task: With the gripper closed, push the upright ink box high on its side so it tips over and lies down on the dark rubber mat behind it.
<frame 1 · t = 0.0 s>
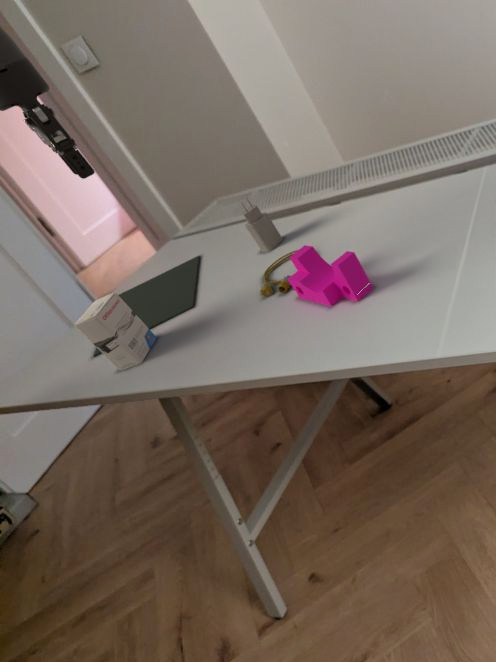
hand: (85, 174, 85), 31 cm above the table, tool pointing down, fingers open, 8 cm apart
toy block: (336, 295, 96), on the table
mat: (153, 302, 123), on the table
braided water hose: (286, 275, 109), on the table
power adapter: (273, 247, 125), on the table
ink box: (140, 355, 104), on the table
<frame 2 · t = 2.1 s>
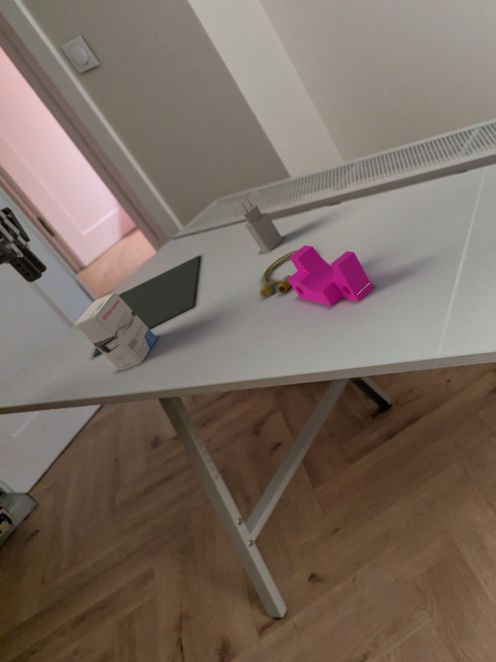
hand: (38, 275, 85), 22 cm above the table, tool pointing down, fingers closed
nothing on the table moved.
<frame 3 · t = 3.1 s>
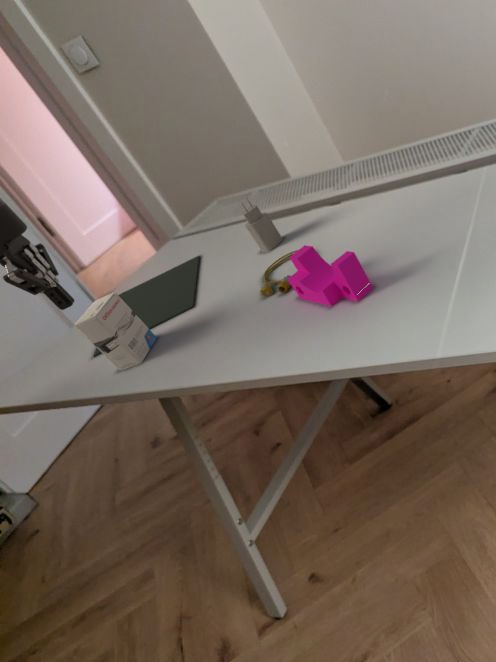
hand: (68, 305, 89), 16 cm above the table, tool pointing down, fingers closed
nothing on the table moved.
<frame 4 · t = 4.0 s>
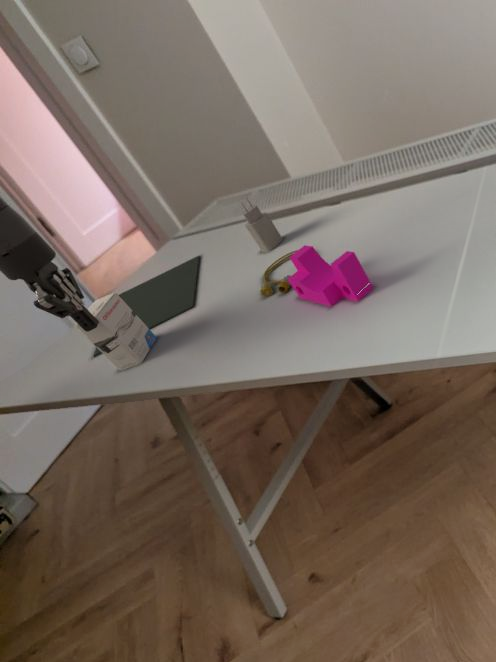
hand: (93, 327, 93), 11 cm above the table, tool pointing down, fingers closed
ink box: (140, 355, 104), on the table, touching gripper
everything else where it was.
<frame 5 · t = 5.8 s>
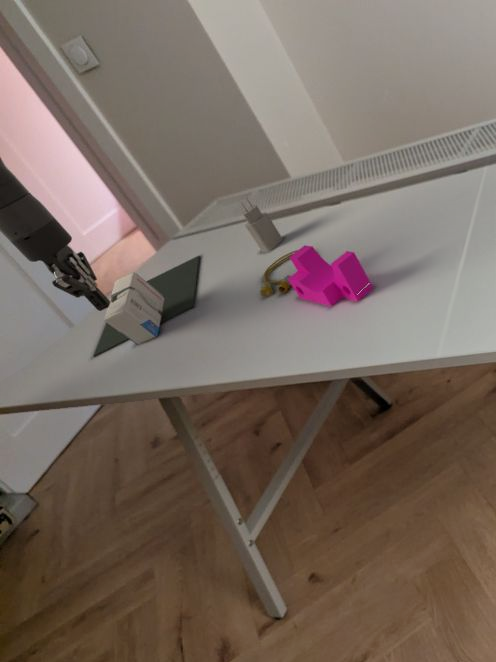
hand: (105, 307, 101), 10 cm above the table, tool pointing down, fingers closed
ink box: (131, 329, 104), point 4 cm above the table
everything else where it was.
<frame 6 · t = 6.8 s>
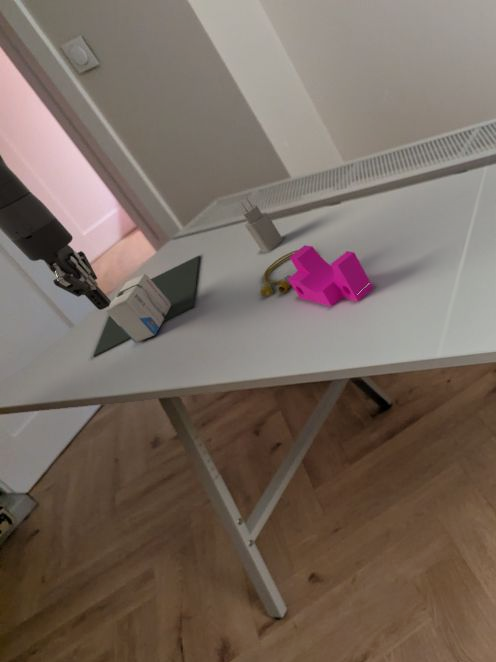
hand: (105, 306, 101), 10 cm above the table, tool pointing down, fingers closed
ink box: (130, 323, 104), point 5 cm above the table, touching mat
everything else where it was.
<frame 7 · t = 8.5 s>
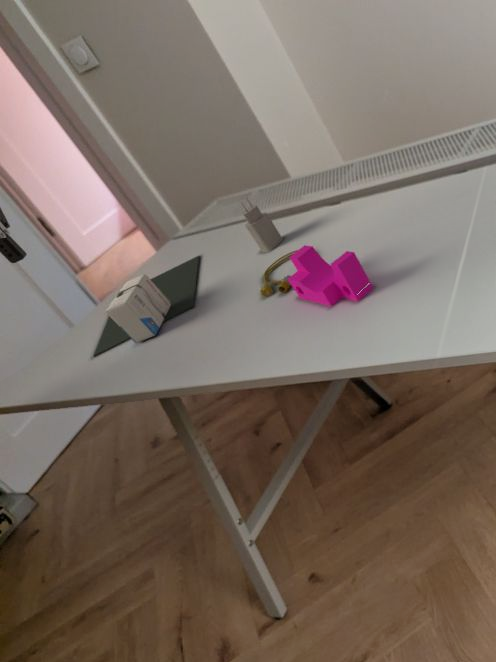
hand: (20, 259, 87), 25 cm above the table, tool pointing down, fingers closed
nothing on the table moved.
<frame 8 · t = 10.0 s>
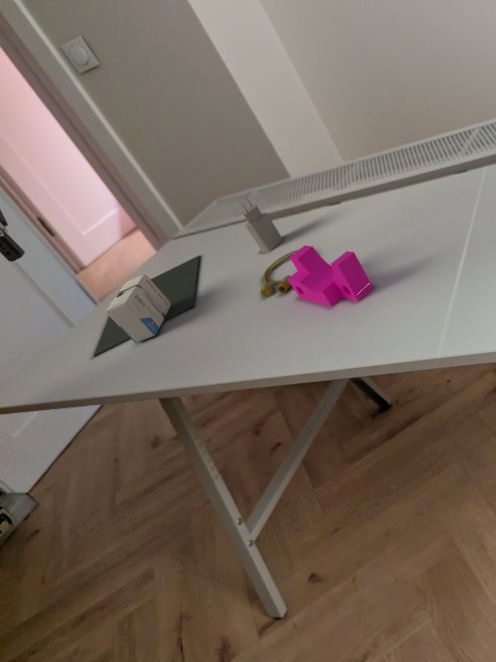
hand: (18, 257, 86), 25 cm above the table, tool pointing down, fingers closed
nothing on the table moved.
at the end: ink box tilted 90°; ink box touching mat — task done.
